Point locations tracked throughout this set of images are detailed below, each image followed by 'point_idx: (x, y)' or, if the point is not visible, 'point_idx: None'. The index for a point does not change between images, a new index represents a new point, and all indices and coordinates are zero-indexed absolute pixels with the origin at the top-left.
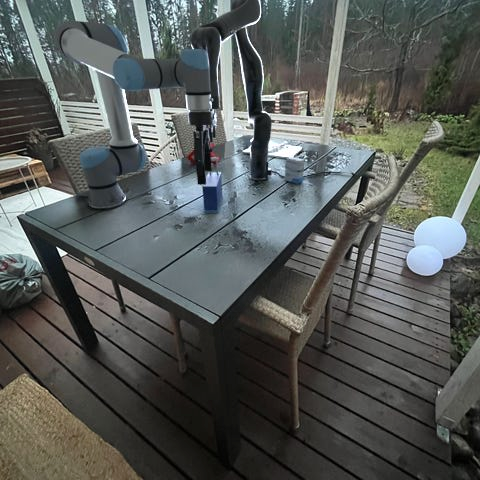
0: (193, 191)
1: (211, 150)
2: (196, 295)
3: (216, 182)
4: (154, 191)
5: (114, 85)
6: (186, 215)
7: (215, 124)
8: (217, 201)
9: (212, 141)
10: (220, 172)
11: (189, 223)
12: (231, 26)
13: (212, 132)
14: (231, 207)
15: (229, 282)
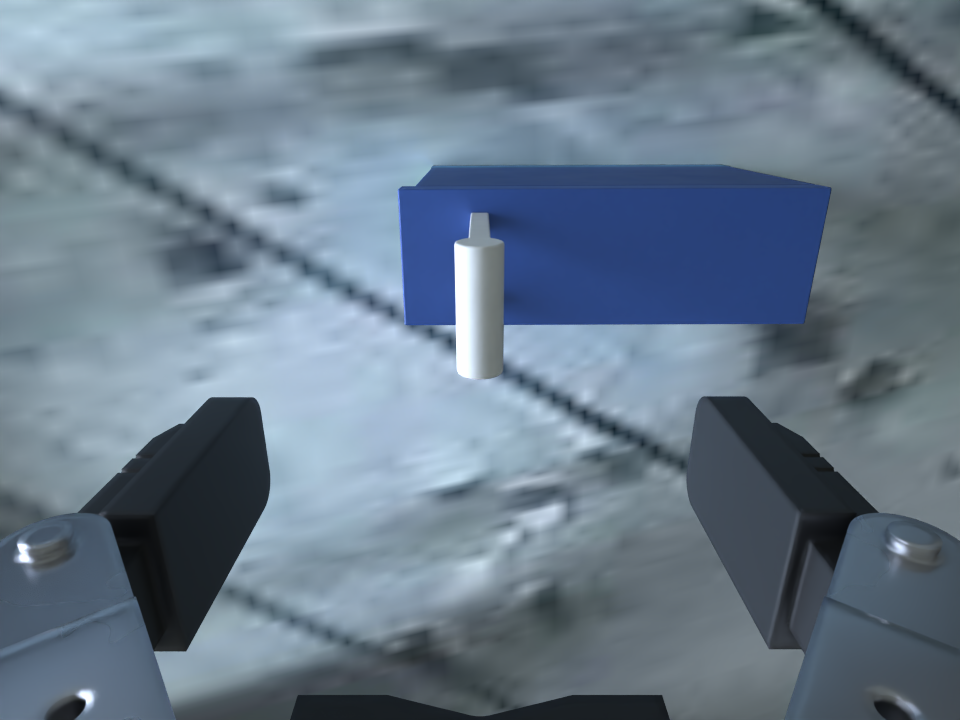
0: (343, 403)
1: None
2: None
3: (717, 201)
4: (375, 625)
5: None
6: (731, 370)
7: (33, 586)
8: (744, 172)
9: (748, 400)
10: (402, 198)
11: (842, 330)
12: None
13: (222, 515)
14: (627, 63)
15: None
